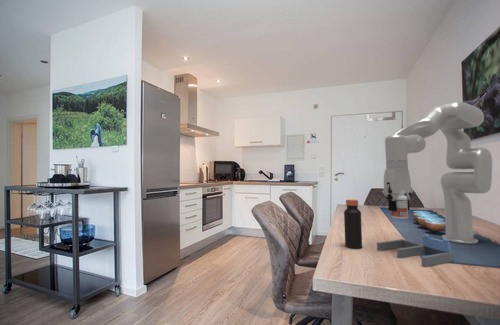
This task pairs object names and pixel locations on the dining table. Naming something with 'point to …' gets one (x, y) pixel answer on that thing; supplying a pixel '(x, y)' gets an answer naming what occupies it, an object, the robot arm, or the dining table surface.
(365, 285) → the dining table surface
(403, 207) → the pill bottle
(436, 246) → the grey blue bar frame
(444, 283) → the dining table surface
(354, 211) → the vinegar
